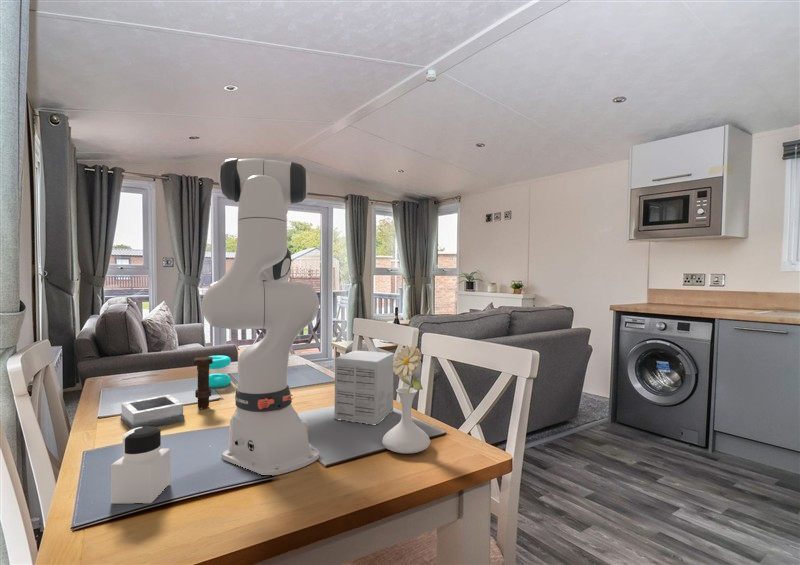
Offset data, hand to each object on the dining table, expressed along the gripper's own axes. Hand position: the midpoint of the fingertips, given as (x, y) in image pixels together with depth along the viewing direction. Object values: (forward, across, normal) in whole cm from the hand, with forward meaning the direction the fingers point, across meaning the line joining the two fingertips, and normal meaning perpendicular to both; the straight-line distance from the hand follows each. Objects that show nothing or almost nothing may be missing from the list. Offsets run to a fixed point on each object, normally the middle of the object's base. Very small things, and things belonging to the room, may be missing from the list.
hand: (220, 304), depth 131 cm
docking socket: (+28, 0, +23) cm, 36 cm away
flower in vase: (+14, +70, +12) cm, 72 cm away
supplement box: (-1, +50, +22) cm, 55 cm away
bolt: (+15, +4, +27) cm, 31 cm away
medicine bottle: (+52, +32, +5) cm, 61 cm away
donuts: (-3, -11, +38) cm, 40 cm away
